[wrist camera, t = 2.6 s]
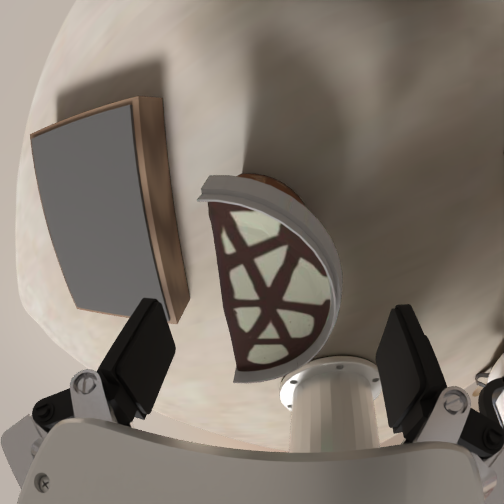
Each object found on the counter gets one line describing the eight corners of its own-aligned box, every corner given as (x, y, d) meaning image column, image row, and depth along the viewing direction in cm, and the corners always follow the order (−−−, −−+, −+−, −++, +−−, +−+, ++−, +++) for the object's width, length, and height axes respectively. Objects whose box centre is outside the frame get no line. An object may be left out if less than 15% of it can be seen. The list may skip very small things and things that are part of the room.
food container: (323, 295, 24) (333, 389, 15) (254, 296, 25) (234, 388, 16) (325, 150, 18) (358, 179, 9) (239, 153, 19) (194, 186, 10)
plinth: (190, 298, 26) (176, 326, 22) (94, 289, 27) (75, 310, 24) (162, 97, 18) (135, 95, 14) (57, 128, 19) (27, 135, 16)
